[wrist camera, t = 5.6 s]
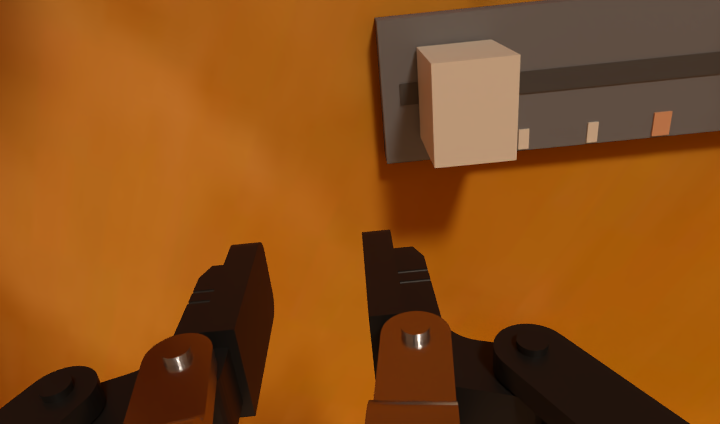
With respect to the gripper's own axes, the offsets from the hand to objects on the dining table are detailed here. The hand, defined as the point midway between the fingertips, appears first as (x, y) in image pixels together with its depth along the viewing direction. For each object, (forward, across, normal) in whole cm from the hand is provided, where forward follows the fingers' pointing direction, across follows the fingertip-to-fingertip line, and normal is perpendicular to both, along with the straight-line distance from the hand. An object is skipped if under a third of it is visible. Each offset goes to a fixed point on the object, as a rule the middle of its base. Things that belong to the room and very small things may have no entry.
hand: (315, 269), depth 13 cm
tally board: (+19, -15, 0) cm, 24 cm away
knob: (+17, -7, 0) cm, 19 cm away
